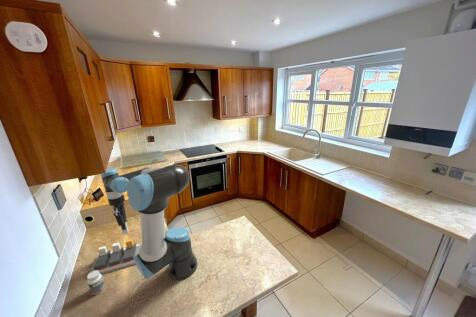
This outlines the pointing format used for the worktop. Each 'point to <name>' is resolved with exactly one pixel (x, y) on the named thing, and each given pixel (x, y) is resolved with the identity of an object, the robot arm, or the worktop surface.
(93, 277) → the pill bottle
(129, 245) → the block
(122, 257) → the panel
